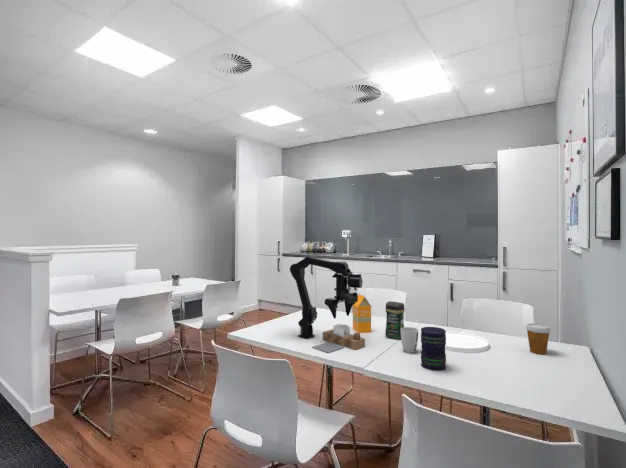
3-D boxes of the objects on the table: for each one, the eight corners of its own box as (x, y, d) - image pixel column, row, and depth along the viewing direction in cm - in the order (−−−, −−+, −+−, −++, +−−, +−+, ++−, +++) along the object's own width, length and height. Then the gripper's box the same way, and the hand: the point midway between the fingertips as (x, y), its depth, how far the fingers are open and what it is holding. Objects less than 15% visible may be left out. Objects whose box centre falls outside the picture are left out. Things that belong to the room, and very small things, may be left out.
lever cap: (333, 333, 177) (333, 324, 177) (339, 331, 180) (339, 322, 180) (343, 336, 172) (343, 326, 172) (349, 334, 175) (349, 325, 175)
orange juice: (358, 333, 192) (358, 296, 192) (352, 329, 201) (352, 294, 201) (371, 332, 194) (371, 296, 194) (365, 328, 203) (365, 293, 203)
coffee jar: (383, 337, 185) (382, 302, 185) (390, 333, 191) (389, 299, 191) (400, 340, 179) (400, 304, 179) (406, 337, 185) (406, 301, 185)
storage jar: (415, 364, 147) (415, 328, 147) (432, 360, 152) (432, 325, 152) (434, 372, 138) (434, 334, 138) (451, 367, 143) (451, 331, 143)
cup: (419, 354, 159) (419, 332, 159) (400, 353, 160) (400, 331, 160) (417, 348, 167) (417, 327, 167) (400, 347, 168) (400, 326, 168)
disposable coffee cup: (547, 350, 163) (546, 324, 163) (553, 356, 154) (553, 329, 154) (523, 347, 167) (523, 322, 167) (528, 354, 158) (528, 327, 158)
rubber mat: (311, 347, 169) (311, 346, 169) (328, 342, 176) (328, 341, 176) (328, 353, 161) (328, 352, 161) (344, 347, 168) (344, 347, 168)
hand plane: (322, 339, 181) (322, 327, 181) (332, 336, 186) (332, 324, 186) (355, 350, 165) (355, 336, 165) (364, 346, 170) (364, 333, 170)
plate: (425, 334, 191) (424, 330, 191) (480, 337, 185) (480, 332, 185) (431, 351, 163) (431, 346, 163) (496, 355, 158) (496, 350, 158)
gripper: (339, 290, 167) (339, 323, 167) (365, 286, 179) (365, 317, 179) (324, 287, 176) (323, 318, 176) (350, 284, 188) (349, 313, 188)
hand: (341, 317), depth 180 cm, fingers open, 9 cm apart
